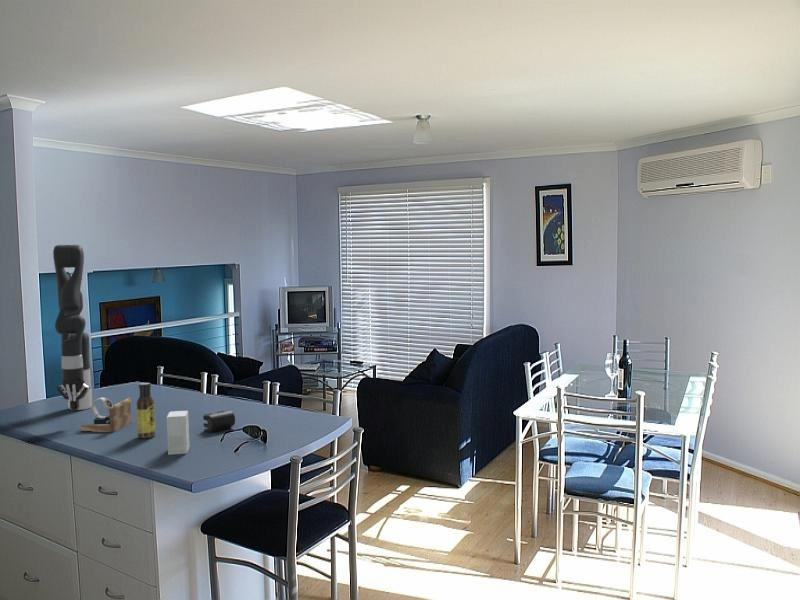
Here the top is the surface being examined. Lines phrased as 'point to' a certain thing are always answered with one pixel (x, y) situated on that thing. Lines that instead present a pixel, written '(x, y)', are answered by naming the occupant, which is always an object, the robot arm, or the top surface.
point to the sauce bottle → (145, 412)
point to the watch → (101, 419)
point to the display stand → (113, 418)
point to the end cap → (219, 421)
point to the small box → (177, 432)
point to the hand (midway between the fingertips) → (74, 409)
